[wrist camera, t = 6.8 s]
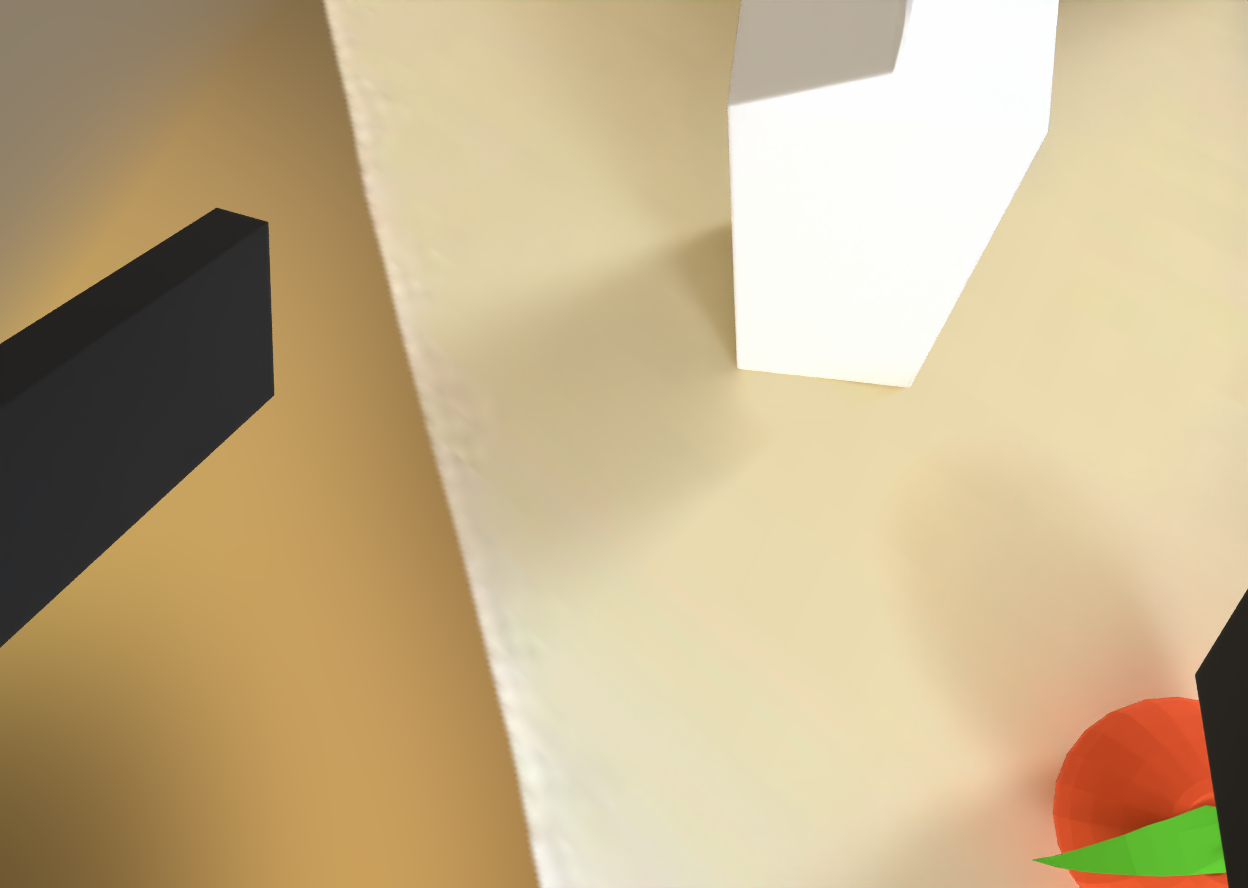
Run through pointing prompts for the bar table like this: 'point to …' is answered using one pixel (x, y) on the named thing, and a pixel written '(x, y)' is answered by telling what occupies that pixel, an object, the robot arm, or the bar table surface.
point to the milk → (874, 170)
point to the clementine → (1140, 802)
